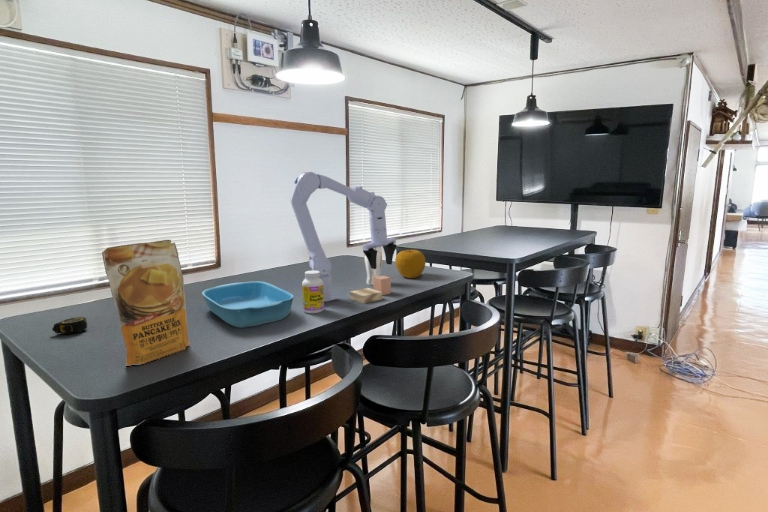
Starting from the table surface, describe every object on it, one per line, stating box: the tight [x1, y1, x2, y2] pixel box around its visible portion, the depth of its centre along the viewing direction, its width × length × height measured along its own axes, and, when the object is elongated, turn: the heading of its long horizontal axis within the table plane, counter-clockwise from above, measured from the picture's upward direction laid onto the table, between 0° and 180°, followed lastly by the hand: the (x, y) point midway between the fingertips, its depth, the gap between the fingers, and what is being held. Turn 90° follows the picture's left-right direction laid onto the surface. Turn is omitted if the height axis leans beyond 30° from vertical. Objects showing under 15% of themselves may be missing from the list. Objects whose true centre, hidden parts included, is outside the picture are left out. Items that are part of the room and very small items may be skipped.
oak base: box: [349, 287, 383, 304], centre depth 159 cm, size 8×8×3 cm
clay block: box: [372, 275, 392, 296], centre depth 166 cm, size 4×4×6 cm
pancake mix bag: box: [101, 239, 191, 368], centre depth 109 cm, size 7×19×28 cm, turn 146°
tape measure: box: [51, 316, 88, 335], centre depth 130 cm, size 7×7×4 cm
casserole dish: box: [201, 280, 294, 329], centre depth 144 cm, size 37×22×7 cm, turn 37°
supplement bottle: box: [301, 269, 325, 314], centre depth 145 cm, size 7×7×13 cm
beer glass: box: [363, 246, 383, 286], centre depth 180 cm, size 7×7×15 cm
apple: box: [394, 249, 427, 279], centre depth 192 cm, size 13×13×11 cm
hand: (381, 266), depth 165 cm, fingers open, 7 cm apart
